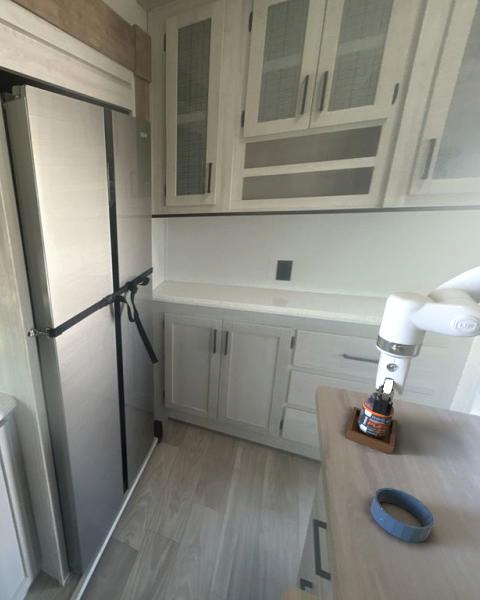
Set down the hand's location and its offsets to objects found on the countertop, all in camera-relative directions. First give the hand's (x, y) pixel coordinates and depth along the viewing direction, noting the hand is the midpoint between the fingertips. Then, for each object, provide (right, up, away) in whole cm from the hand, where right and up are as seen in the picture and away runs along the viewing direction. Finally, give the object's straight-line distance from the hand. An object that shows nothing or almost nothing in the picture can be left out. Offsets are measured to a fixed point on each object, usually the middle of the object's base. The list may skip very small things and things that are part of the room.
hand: (382, 402), depth 84 cm
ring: (-13, -19, -17) cm, 29 cm away
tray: (+1, -9, +4) cm, 10 cm away
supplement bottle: (+1, -9, +4) cm, 10 cm away
